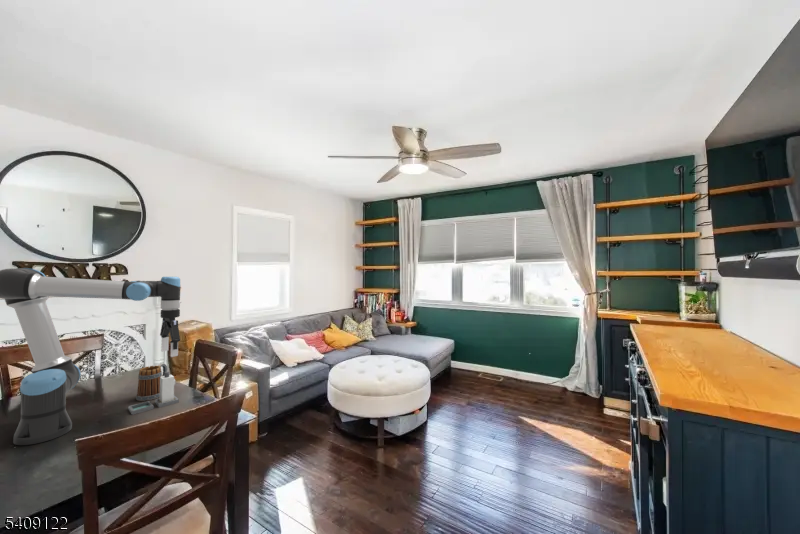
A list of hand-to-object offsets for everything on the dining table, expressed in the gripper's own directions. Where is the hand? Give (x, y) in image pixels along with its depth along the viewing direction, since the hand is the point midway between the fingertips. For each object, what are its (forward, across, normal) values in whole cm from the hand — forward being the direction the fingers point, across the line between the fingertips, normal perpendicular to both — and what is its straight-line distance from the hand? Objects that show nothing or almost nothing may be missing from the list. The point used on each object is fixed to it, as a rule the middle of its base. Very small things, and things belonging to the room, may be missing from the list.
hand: (169, 353), depth 156 cm
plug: (+22, -3, +2) cm, 22 cm away
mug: (+23, +12, +3) cm, 26 cm away
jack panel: (+23, -3, +6) cm, 24 cm away
